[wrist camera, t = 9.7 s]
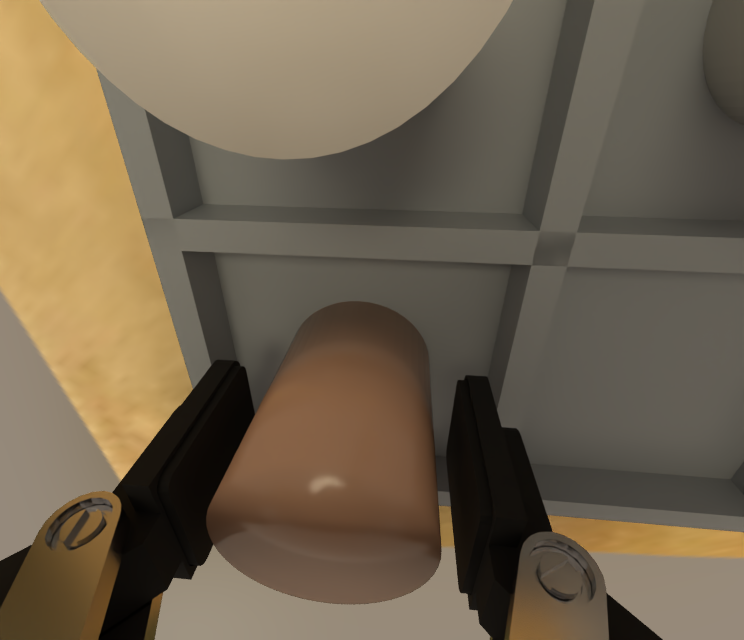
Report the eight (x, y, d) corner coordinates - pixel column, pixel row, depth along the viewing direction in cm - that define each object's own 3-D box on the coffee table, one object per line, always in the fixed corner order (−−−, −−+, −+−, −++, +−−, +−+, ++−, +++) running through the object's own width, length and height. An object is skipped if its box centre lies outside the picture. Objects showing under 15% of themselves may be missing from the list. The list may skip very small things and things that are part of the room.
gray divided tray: (58, -374, 6) (-103, -592, 4) (1454, -497, 5) (2168, -907, 3) (245, 439, 16) (222, 486, 14) (727, 476, 15) (776, 535, 13)
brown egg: (284, 297, 11) (179, 457, 6) (435, 304, 11) (455, 480, 6) (298, 408, 14) (229, 592, 9) (423, 418, 13) (430, 614, 8)
